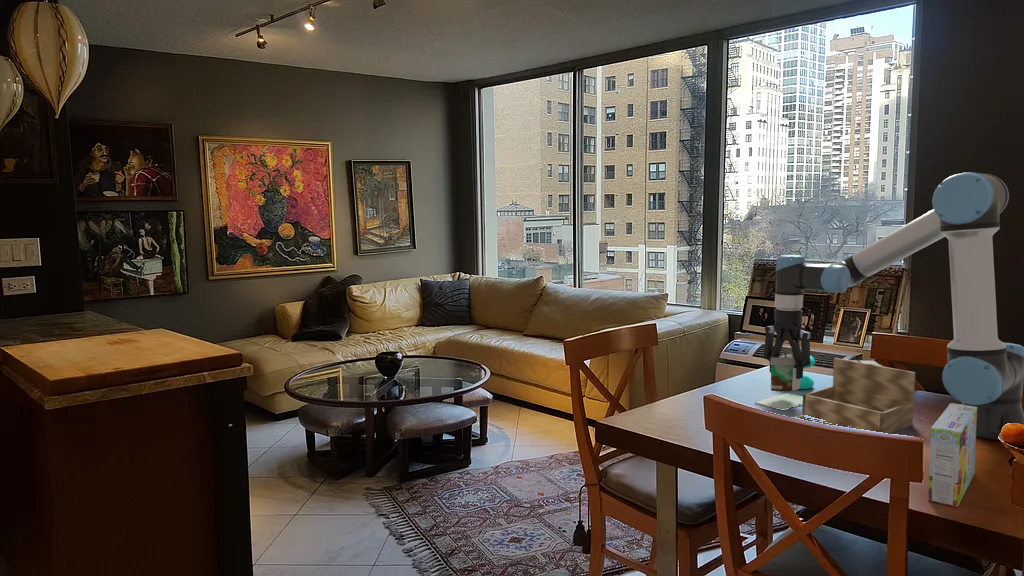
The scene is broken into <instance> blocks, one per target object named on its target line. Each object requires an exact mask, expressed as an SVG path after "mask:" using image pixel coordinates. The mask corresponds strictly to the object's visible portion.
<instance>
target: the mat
mask: <svg viewBox="0 0 1024 576" xmlns="http://www.w3.org/2000/svg"><path fill="white" fill-rule="evenodd" d="M754 404H755V405H759V406H763V407H766V406H767V408H770V407H774V408H779V409H786V408H790V407H793V406H796V405H800V404H803V395H797V394H793V393H789V392H785V393H780V394H779V395H778V394H777V395H774V396H771V397H768V398H765V399H764V398H763V399H760V400H758V401H755V402H754Z"/></svg>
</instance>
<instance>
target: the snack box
mask: <svg viewBox="0 0 1024 576" xmlns="http://www.w3.org/2000/svg"><path fill="white" fill-rule="evenodd" d="M976 423H977V407H975V406H968V405H962V403H961V404H959V403H955V402H954V403H953V402H952V403H951V402H950V403H949V404H948V406H947V407H946V408H945V409H944V411H943V412H942V414H941V415H940V416H939V417H938V418H937V419H936V421H935V422H934V424H933V425H932V426H931V427H930V441H929V442H930V444H929V470H928V471H929V473H928V492H927V493H928V495H927V502H931V503H935V504H940V505H945V506H950V507H953V508H959V506H960V503H961V502H962V499H963V497H964V496H965V493H966V492H967V490H968V488H969V486H970V483H971V481H972V480H973V478H974V476H975V475H976V447H977V446H976V445H977V444H976V443H977V436H976Z"/></svg>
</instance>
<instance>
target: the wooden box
mask: <svg viewBox="0 0 1024 576" xmlns="http://www.w3.org/2000/svg"><path fill="white" fill-rule="evenodd" d="M849 360H850V359H844V358H838V357H834V358H833V372H832V373H833V377H832V385H831V386H827V387H823V388H820V389H817V390H814V391H811V392H806V393H804V394H802V396H803V405H801V406H802V407H801V408H802V409H801V414H800V416H799V415H797V416H798V417H797V418H800V419H804V420H808V421H813V420H809V419H811V418H807V419H805V418H806V417H804V415H808V416H811V417H815V418H818V419H823V420H826V421H823V424H829V423H832V424H829V425H836V424H838V425H837V426H843V427H848V426H849V428H856V429H864V430H870V431H876V432H883V433H891V434H893V433H896V432H898V431H900V430H899V429H901V430H903V429H906V428H909V427H911V426H913V421H914V417H913V416H914V405H915V387H916V386H915V385H916V371H910V370H904V369H899V368H892V367H887V366H883V365H881V366H877V365H872V364H866V363H860V362H855V361H849ZM802 414H803V416H801V415H802ZM814 420H817V419H814ZM819 421H820V420H817V421H815V422H819ZM825 422H828V423H825ZM819 423H822V422H819ZM850 426H851V427H850ZM857 427H858V428H857ZM905 427H906V428H905ZM902 428H903V429H902ZM897 430H898V431H897Z"/></svg>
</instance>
